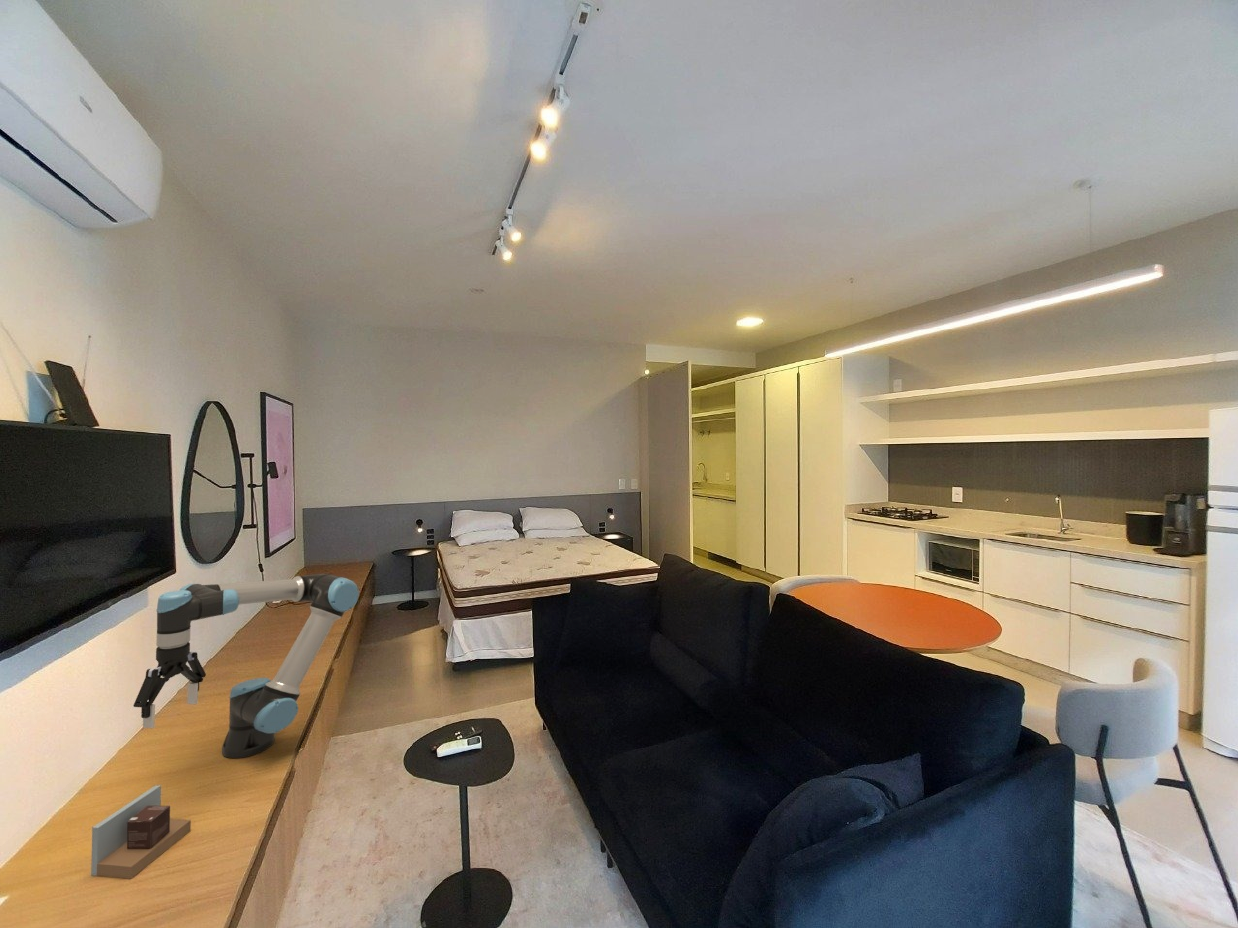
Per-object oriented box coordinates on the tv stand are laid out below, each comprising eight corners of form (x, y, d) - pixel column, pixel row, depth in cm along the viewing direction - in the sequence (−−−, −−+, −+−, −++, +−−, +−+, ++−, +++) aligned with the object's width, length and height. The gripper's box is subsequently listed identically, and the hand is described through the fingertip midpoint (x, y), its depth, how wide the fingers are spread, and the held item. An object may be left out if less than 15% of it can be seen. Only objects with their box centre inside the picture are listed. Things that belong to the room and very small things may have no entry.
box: (170, 832, 134) (171, 805, 134) (150, 850, 128) (150, 821, 128) (147, 832, 134) (148, 804, 133) (125, 849, 128) (126, 821, 127)
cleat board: (154, 827, 139) (156, 785, 139) (190, 830, 138) (191, 788, 138) (91, 875, 123) (92, 827, 123) (131, 879, 122) (132, 830, 122)
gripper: (199, 629, 160) (197, 694, 161) (116, 660, 135) (114, 737, 136) (221, 630, 160) (219, 696, 160) (143, 662, 135) (140, 739, 135)
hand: (171, 715), depth 148 cm, fingers open, 13 cm apart
